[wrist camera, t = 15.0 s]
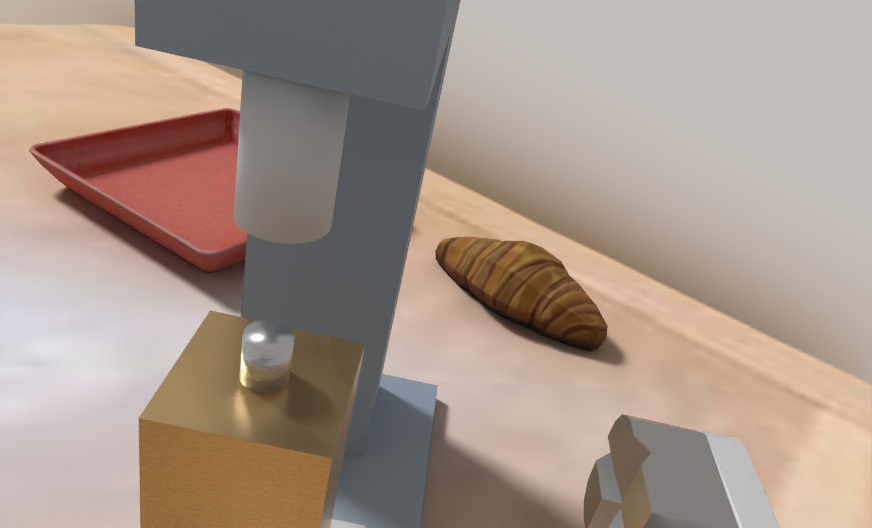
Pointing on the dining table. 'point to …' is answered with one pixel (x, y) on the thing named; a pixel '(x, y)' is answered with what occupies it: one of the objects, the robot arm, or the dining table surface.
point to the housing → (248, 428)
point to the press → (332, 194)
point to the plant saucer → (162, 181)
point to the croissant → (524, 287)
